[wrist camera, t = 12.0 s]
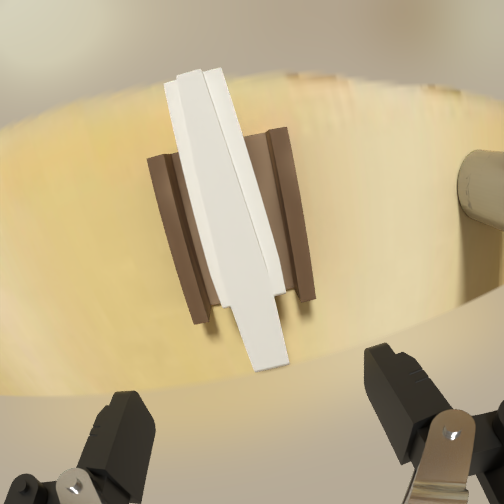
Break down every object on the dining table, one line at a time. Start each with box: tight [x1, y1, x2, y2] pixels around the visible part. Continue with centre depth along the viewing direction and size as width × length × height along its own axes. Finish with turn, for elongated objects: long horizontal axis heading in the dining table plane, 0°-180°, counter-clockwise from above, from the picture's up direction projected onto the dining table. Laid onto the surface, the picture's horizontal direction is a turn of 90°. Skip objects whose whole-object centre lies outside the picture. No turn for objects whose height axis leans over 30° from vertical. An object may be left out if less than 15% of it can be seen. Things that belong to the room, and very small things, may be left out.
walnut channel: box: [147, 127, 316, 324], centre depth 28 cm, size 12×16×4 cm
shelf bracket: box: [164, 68, 289, 372], centre depth 26 cm, size 6×25×13 cm, turn 14°
